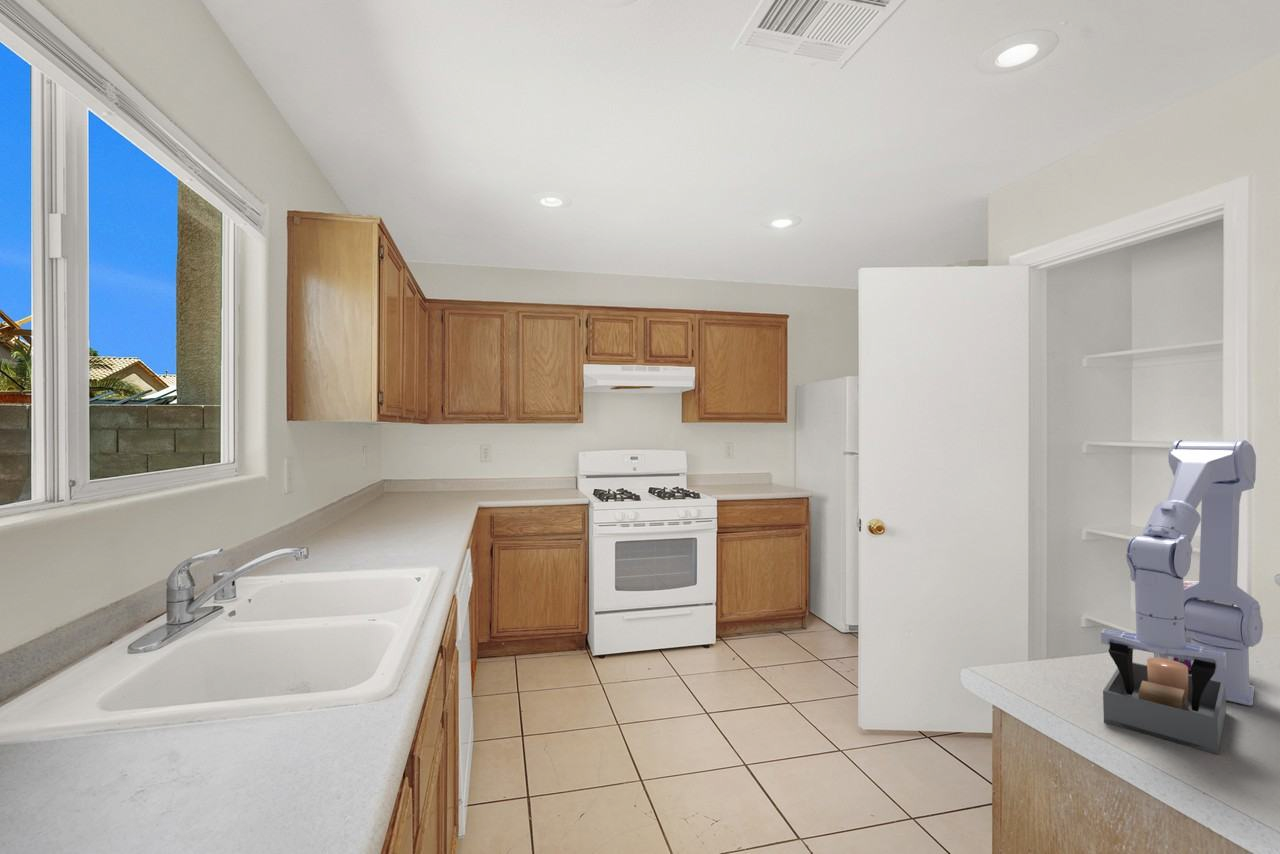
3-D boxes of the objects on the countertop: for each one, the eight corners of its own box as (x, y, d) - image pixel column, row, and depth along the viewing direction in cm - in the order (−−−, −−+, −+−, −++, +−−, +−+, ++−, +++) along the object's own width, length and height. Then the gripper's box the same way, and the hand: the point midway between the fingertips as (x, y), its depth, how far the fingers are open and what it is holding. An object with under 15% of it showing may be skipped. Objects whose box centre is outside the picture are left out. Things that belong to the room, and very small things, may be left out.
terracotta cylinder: (1140, 700, 98) (1139, 659, 98) (1165, 697, 99) (1163, 656, 99) (1171, 715, 93) (1170, 671, 93) (1197, 711, 94) (1196, 668, 94)
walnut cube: (1139, 722, 91) (1138, 690, 91) (1143, 711, 95) (1142, 680, 95) (1182, 734, 88) (1181, 700, 88) (1185, 721, 91) (1184, 689, 91)
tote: (1123, 687, 104) (1122, 660, 104) (1226, 713, 95) (1225, 682, 95) (1103, 722, 93) (1103, 690, 93) (1218, 754, 83) (1217, 719, 83)
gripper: (1096, 609, 94) (1098, 693, 94) (1223, 631, 83) (1225, 726, 83) (1105, 599, 99) (1107, 680, 99) (1226, 619, 88) (1228, 709, 88)
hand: (1161, 700), depth 91 cm, fingers open, 7 cm apart
